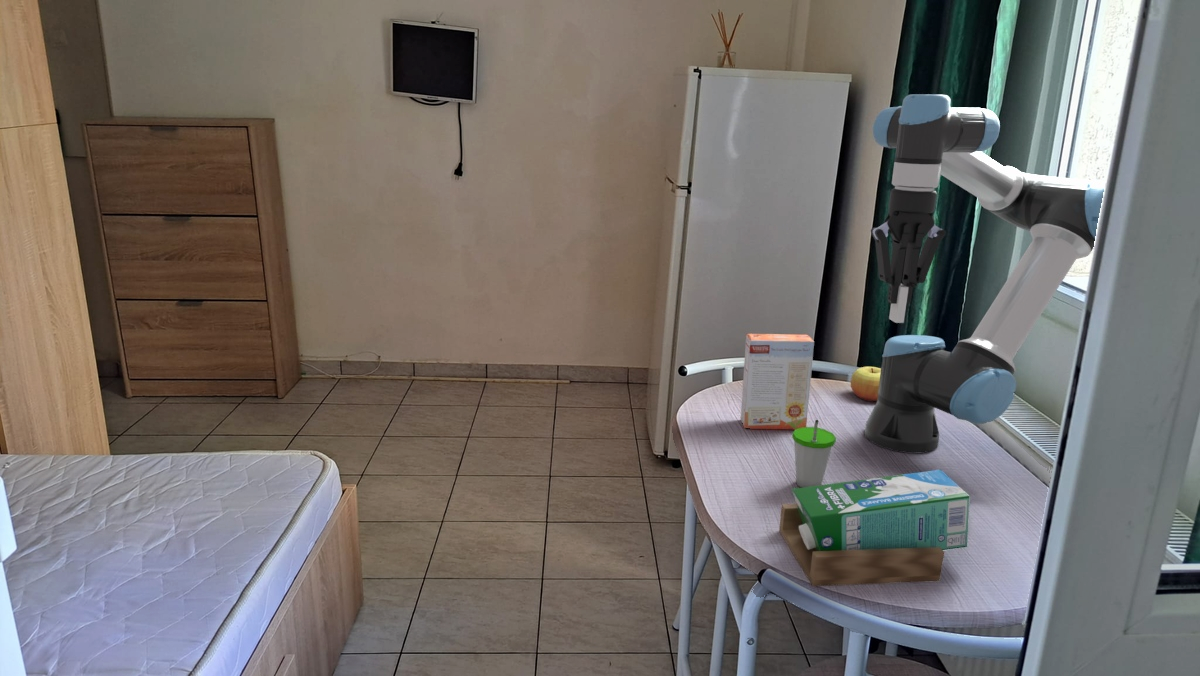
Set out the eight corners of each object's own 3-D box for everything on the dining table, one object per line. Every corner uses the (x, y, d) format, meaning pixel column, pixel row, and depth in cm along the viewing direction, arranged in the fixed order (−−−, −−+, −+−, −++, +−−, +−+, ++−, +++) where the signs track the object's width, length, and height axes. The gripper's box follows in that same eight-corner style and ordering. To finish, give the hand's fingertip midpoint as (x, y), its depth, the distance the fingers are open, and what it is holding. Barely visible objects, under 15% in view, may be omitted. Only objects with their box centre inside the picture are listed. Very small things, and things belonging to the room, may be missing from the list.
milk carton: (939, 517, 130) (792, 537, 129) (940, 468, 127) (790, 488, 126) (967, 547, 121) (810, 568, 120) (970, 496, 119) (809, 517, 118)
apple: (851, 403, 191) (855, 372, 189) (846, 389, 200) (849, 359, 198) (893, 406, 189) (898, 375, 187) (886, 392, 199) (890, 362, 196)
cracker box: (800, 420, 179) (809, 333, 173) (806, 431, 174) (815, 341, 168) (739, 419, 179) (746, 331, 173) (743, 429, 174) (750, 339, 168)
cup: (801, 471, 154) (809, 400, 150) (837, 485, 149) (846, 412, 144) (779, 484, 149) (786, 411, 144) (816, 498, 143) (824, 423, 139)
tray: (892, 526, 134) (895, 500, 133) (939, 581, 119) (944, 552, 118) (779, 530, 132) (781, 504, 131) (812, 586, 117) (816, 557, 116)
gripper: (939, 186, 138) (920, 315, 145) (868, 185, 137) (853, 315, 144) (962, 191, 131) (941, 326, 138) (887, 190, 130) (870, 326, 136)
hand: (896, 320), depth 141 cm, fingers closed
